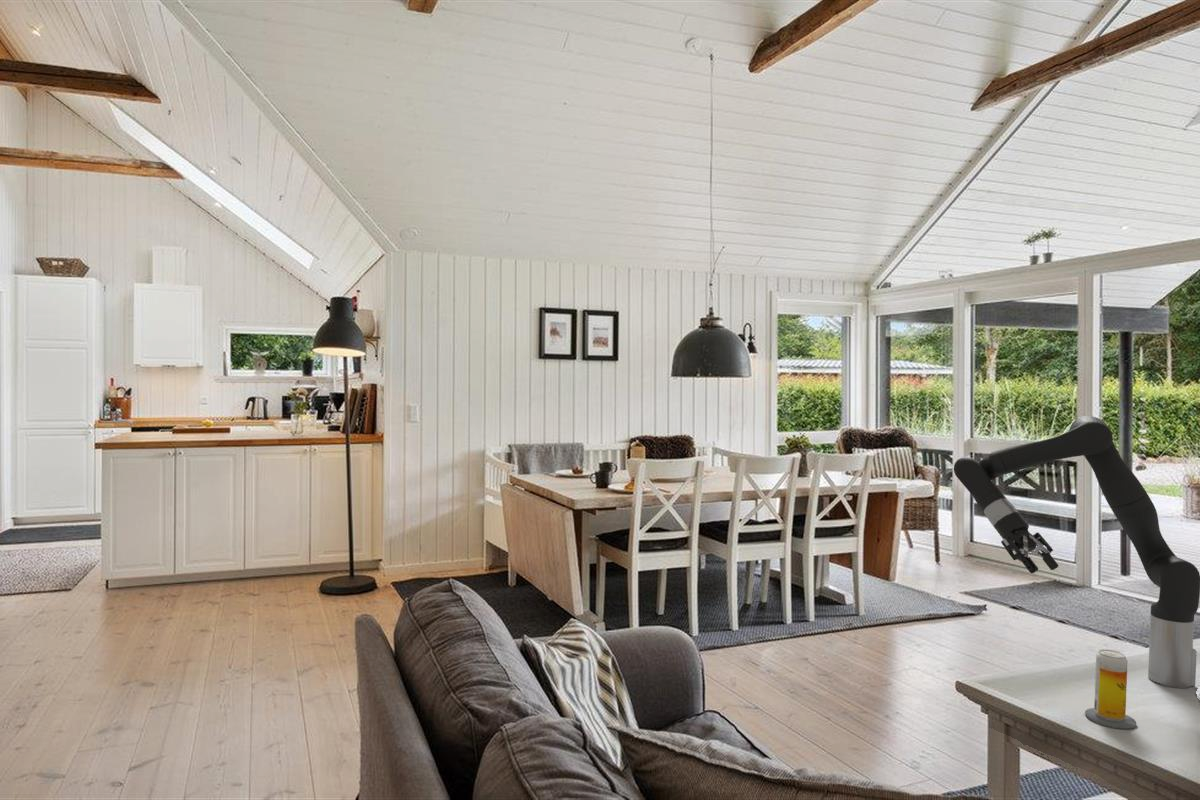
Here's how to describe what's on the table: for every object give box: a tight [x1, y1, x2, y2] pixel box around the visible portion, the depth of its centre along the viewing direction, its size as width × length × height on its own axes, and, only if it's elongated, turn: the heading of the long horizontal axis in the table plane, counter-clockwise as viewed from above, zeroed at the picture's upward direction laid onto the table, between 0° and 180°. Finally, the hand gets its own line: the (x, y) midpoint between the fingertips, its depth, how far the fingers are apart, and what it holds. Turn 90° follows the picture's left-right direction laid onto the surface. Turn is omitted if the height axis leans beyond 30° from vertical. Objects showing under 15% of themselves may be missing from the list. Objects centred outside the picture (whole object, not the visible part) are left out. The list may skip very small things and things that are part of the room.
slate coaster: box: [1084, 707, 1137, 731], centre depth 178 cm, size 10×10×1 cm
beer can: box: [1093, 648, 1128, 721], centre depth 178 cm, size 6×6×15 cm
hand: (1045, 570), depth 198 cm, fingers open, 8 cm apart
